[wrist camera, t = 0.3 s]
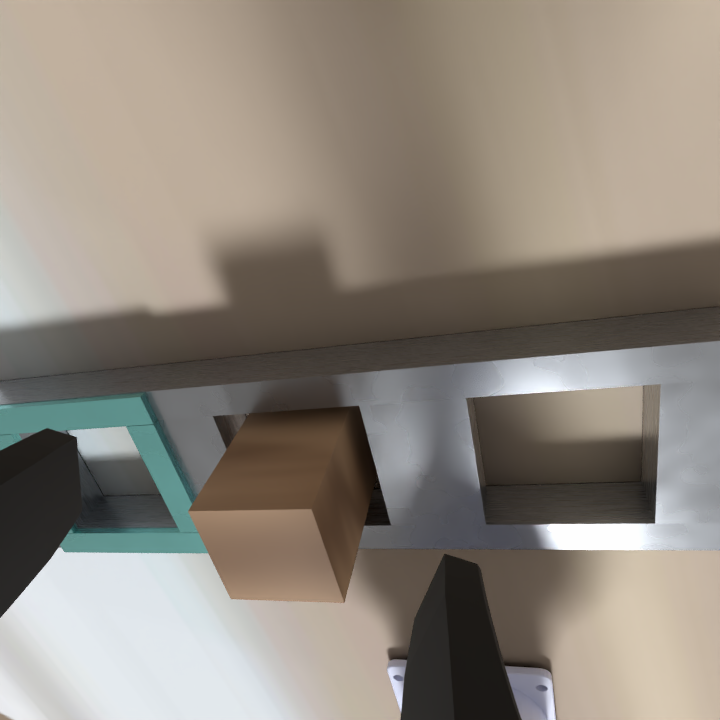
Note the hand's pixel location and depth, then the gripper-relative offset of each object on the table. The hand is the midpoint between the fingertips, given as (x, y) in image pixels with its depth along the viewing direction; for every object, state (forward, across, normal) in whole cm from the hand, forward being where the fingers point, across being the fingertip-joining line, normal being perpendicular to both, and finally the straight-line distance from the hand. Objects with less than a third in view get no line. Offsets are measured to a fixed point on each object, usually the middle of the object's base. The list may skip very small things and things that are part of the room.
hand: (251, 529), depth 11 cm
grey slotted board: (+10, 0, +6) cm, 12 cm away
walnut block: (+10, 0, +6) cm, 12 cm away
